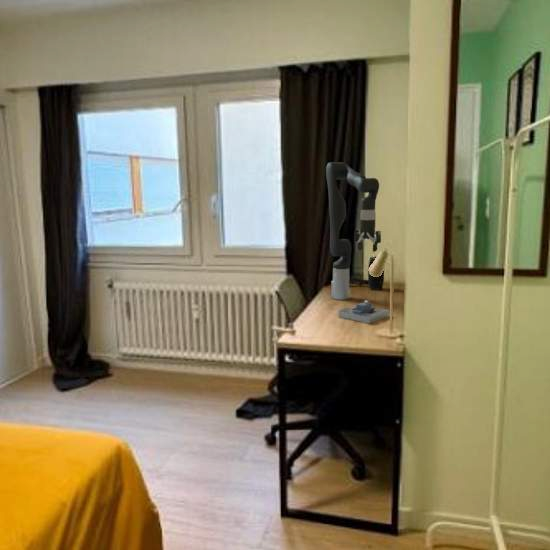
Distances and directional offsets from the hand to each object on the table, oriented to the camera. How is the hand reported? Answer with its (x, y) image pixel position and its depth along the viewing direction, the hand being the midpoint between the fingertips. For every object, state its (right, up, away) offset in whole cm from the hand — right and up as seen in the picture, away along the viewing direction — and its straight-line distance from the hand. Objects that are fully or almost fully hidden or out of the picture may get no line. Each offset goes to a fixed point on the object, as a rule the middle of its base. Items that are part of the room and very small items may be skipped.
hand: (367, 250), depth 254 cm
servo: (-4, -32, -10) cm, 34 cm away
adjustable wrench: (+5, -20, +60) cm, 63 cm away
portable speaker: (+14, -21, +50) cm, 56 cm away
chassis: (-4, -33, -10) cm, 34 cm away
